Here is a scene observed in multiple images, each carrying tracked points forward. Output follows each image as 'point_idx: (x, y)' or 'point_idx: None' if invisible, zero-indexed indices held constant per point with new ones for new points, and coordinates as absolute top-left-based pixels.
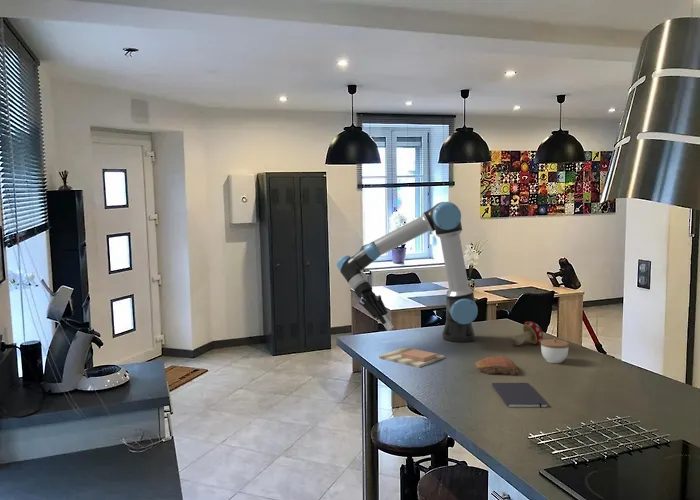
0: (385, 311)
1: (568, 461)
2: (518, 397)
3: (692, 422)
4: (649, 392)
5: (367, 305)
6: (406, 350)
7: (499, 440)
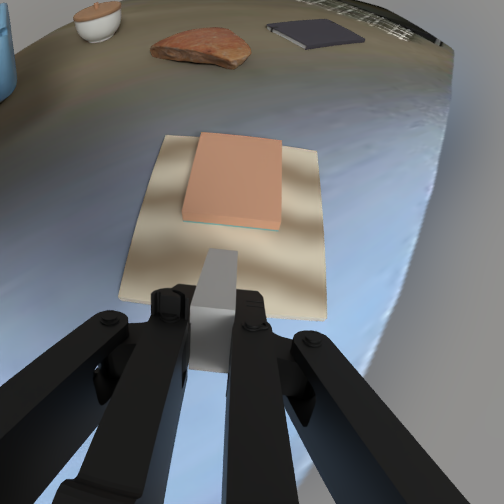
0: (123, 327)
1: (412, 32)
2: (334, 31)
3: None
4: None
5: (431, 482)
6: (166, 264)
7: (432, 55)
